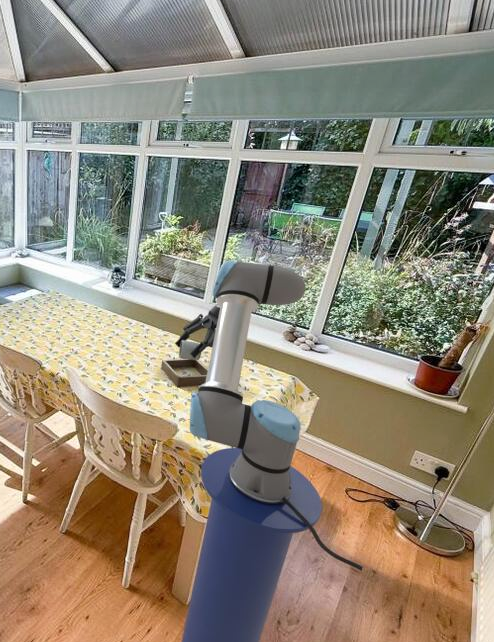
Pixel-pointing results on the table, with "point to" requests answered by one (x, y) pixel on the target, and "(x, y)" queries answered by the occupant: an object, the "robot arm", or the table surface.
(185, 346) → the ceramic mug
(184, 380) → the walnut holder
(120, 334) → the table surface
